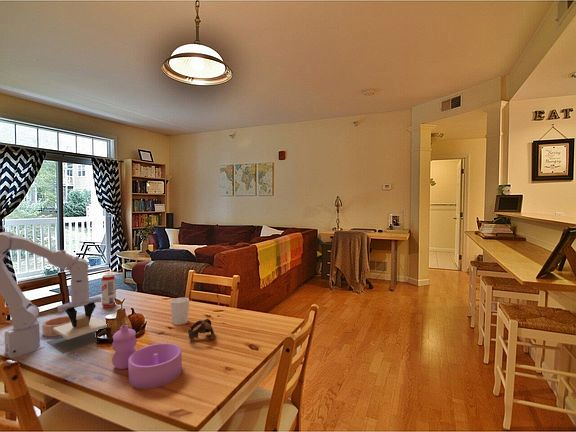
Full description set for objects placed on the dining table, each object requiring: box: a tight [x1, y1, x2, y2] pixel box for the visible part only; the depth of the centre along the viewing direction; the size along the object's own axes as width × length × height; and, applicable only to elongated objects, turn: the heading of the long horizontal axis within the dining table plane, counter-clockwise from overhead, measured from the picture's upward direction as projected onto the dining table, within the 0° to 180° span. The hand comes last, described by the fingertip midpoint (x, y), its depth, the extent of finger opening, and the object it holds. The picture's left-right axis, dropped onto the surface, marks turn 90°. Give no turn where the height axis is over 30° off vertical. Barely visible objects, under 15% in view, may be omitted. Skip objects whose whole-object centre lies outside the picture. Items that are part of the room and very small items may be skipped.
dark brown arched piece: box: [187, 318, 216, 342], centre depth 121 cm, size 12×10×8 cm
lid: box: [53, 314, 108, 340], centre depth 120 cm, size 14×14×4 cm
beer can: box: [100, 274, 117, 309], centre depth 158 cm, size 6×6×16 cm
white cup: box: [169, 297, 190, 326], centre depth 137 cm, size 8×8×10 cm
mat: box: [46, 331, 99, 354], centre depth 120 cm, size 18×16×1 cm
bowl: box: [41, 315, 71, 337], centre depth 127 cm, size 11×11×4 cm
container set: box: [111, 324, 183, 390], centre depth 97 cm, size 25×15×13 cm, turn 67°
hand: (80, 324), depth 120 cm, fingers closed on lid, 4 cm apart
